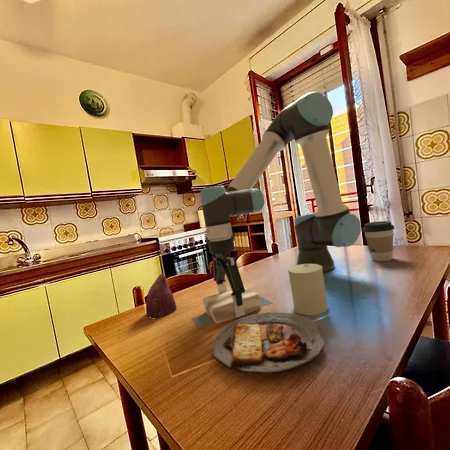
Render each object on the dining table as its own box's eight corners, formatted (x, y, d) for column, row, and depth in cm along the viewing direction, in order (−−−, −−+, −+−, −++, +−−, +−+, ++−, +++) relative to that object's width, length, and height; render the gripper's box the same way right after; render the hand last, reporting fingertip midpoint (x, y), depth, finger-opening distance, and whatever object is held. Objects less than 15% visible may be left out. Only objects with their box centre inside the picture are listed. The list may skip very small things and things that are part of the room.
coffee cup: (360, 258, 112) (356, 224, 111) (386, 254, 112) (382, 220, 111) (376, 264, 100) (371, 226, 99) (405, 259, 100) (400, 221, 99)
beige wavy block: (205, 311, 81) (203, 298, 81) (245, 299, 86) (243, 286, 86) (216, 324, 71) (213, 308, 71) (260, 309, 76) (258, 294, 76)
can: (329, 301, 74) (323, 261, 73) (327, 316, 66) (321, 270, 65) (296, 301, 78) (290, 262, 77) (291, 315, 70) (284, 272, 69)
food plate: (337, 379, 43) (334, 359, 43) (204, 387, 47) (201, 368, 47) (311, 317, 68) (309, 304, 68) (225, 325, 72) (223, 313, 72)
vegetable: (181, 315, 91) (186, 272, 90) (165, 325, 81) (170, 278, 80) (156, 308, 94) (161, 267, 94) (137, 317, 84) (142, 272, 84)
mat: (191, 319, 78) (191, 318, 78) (260, 297, 87) (260, 296, 86) (198, 329, 70) (198, 328, 70) (273, 304, 79) (272, 303, 79)
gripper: (197, 239, 87) (208, 301, 88) (222, 244, 65) (236, 327, 66) (218, 234, 89) (228, 295, 91) (249, 238, 67) (262, 318, 69)
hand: (232, 309), depth 78 cm, fingers open, 11 cm apart
